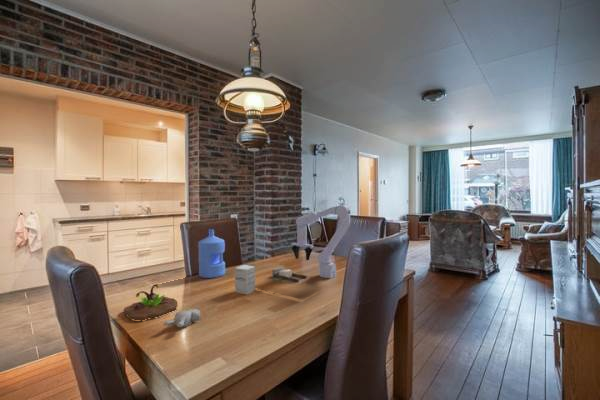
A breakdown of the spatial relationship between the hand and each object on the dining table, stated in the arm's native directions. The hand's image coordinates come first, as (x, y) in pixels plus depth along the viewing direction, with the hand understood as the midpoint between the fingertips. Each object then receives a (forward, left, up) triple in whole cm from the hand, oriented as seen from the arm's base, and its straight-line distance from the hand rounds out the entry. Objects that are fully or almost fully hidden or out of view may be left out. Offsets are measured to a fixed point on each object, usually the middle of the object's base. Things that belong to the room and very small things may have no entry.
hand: (302, 259), depth 169 cm
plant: (+26, +76, -11) cm, 81 cm away
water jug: (+48, +28, -10) cm, 57 cm away
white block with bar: (+5, +12, -9) cm, 16 cm away
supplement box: (+9, +38, -10) cm, 40 cm away
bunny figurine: (+2, +76, -10) cm, 77 cm away
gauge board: (+2, +12, -10) cm, 15 cm away
